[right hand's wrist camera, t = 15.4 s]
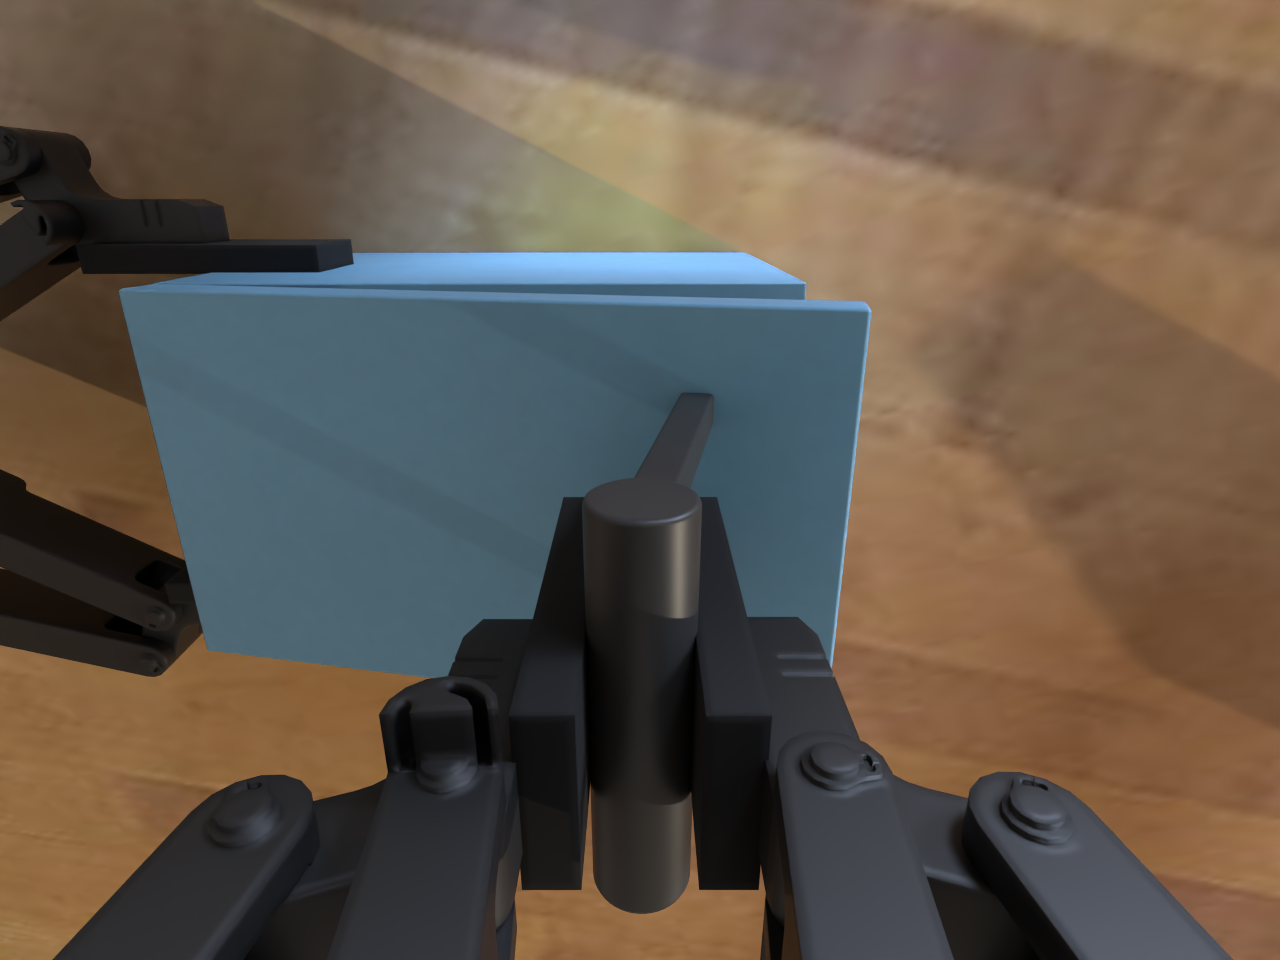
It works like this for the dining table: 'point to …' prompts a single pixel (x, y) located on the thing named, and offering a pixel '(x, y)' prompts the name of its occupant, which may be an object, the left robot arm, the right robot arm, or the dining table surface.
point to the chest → (541, 275)
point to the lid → (508, 491)
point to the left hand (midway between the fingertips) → (360, 426)
